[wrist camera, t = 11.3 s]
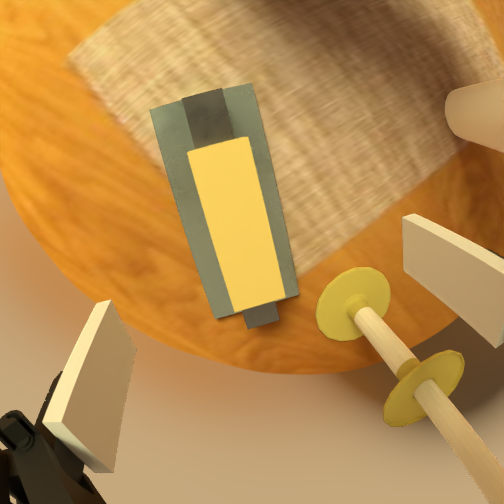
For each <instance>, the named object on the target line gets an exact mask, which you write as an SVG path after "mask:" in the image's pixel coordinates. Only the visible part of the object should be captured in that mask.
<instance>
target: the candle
mask: <svg viewBox="0 0 504 504" xmlns="http://www.w3.org/2000/svg"><path fill="white" fill-rule="evenodd" d="M390 299H391V294H390V284H389V282H388V281H387V279H386V278H385V276H384V275H383V273H381V272H379V271H378V270H376V269H374V268H372V267H355V268H352V269H350V270H347V271H345V272H343V273H340V274H339V275H338V276H337V277H336V278H335V279H333V280H332V281H331V282H330V283H329V284H328V285H327V286H326V287H325V289H324V291H323V292H322V294H321V296H320V297H319V299H318V302H317V307H316V312H315V317H316V321H317V325H318V328H319V329H320V330H321V331H322V332H323V333H324V334H325V336H326V337H327V338H331V339H334V340H337V341H348V340H355V339H357V338H359V337H361V336H363V335H365V336H366V338H367V339H368V340H369V342H370V343H371V344H372V345H373V347H374V348H375V349H376V351H377V352H378V353H379V354H380V356H381V357H382V358H383V360H384V361H385V362H386V363H387V365H388V366H389V367H390V369H391V370H392V371H393V373H394V374H395V375H396V377H397V378H398V379H399V381H400V382H399V383H398V384H397V385H396V387H395V388H394V389H393V390H392V391H391V393H390V394H389V396H388V398H387V400H386V402H385V405H384V407H383V420H384V422H386V423H387V424H388V425H389V426H391V427H403V426H406V425H409V424H412V423H415V422H417V421H419V420H420V419H422V418H424V417H425V416H427V415H428V416H429V417H430V419H431V420H432V422H433V423H434V424H435V426H436V427H437V428H438V430H439V431H440V433H441V434H442V435H443V437H444V438H445V440H446V441H447V442H448V444H449V445H450V447H451V448H452V449H453V451H454V452H455V454H456V455H457V457H458V458H459V459H460V461H461V462H462V464H463V465H464V466H465V468H466V469H467V471H468V472H469V474H470V475H471V477H472V478H473V480H474V481H475V483H476V484H477V486H478V487H479V489H480V490H481V492H482V493H483V495H484V496H485V498H486V499H487V501H488V502H489V504H504V469H503V467H502V466H501V465H500V463H499V462H498V461H497V459H496V458H495V457H494V455H493V454H492V453H491V452H490V450H489V449H488V448H487V446H486V445H485V444H484V442H483V441H482V440H481V439H480V437H479V436H478V435H477V433H476V432H475V431H474V430H473V428H472V427H471V426H470V425H469V423H468V422H467V421H466V420H465V418H464V417H463V416H462V415H461V413H460V412H459V411H458V410H457V409H456V407H455V406H454V405H453V404H452V403H451V401H450V400H449V399H448V396H449V395H450V394H451V393H452V392H453V390H454V389H455V387H456V386H457V384H458V382H459V380H460V378H461V376H462V374H463V369H464V364H465V362H464V359H463V357H462V354H461V353H458V352H455V351H452V350H447V351H443V352H439V353H436V354H434V355H433V356H431V357H429V358H428V359H426V360H424V361H422V362H420V361H419V360H418V359H417V358H416V357H415V356H414V354H413V353H412V352H411V351H410V350H409V349H408V348H407V347H406V345H405V344H404V343H403V342H402V341H401V340H400V339H399V338H398V337H397V335H396V334H395V333H394V332H393V331H392V330H391V329H390V328H389V327H388V326H387V324H386V323H385V322H384V321H383V320H382V318H383V316H384V315H385V313H386V312H387V309H388V306H389V302H390Z"/></svg>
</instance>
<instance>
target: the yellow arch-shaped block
mask: <svg viewBox="0 0 504 504" xmlns="http://www.w3.org/2000/svg"><path fill="white" fill-rule="evenodd" d="M187 155H188V158H189V162H190V165H191V169H192V173H193V176H194V180H195V183H196V187H197V190H198V194H199V197H200V201H201V204H202V207H203V211H204V214H205V218H206V221H207V224H208V228H209V231H210V234H211V238H212V241H213V244H214V248H215V251H216V254H217V258H218V261H219V264H220V267H221V270H222V274H223V277H224V280H225V283H226V286H227V290H228V293H229V296H230V299H231V302H232V305H233V308H234V311H235V312H237V311H241V310H244V309H248V308H251V307H255V306H258V305H262V304H265V303H268V302H272V301H275V300H278V299H282V298H285V297H286V296H285V292H284V287H283V283H282V278H281V274H280V269H279V265H278V260H277V256H276V252H275V247H274V243H273V238H272V234H271V230H270V225H269V221H268V217H267V213H266V208H265V204H264V200H263V196H262V192H261V187H260V183H259V179H258V175H257V171H256V167H255V163H254V159H253V154H252V150H251V146H250V142H249V138H248V137H240V138H236V139H232V140H228V141H224V142H221V143H217V144H213V145H209V146H206V147H202V148H199V149H195V150H192V151H189V152H187Z"/></svg>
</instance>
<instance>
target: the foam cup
mask: <svg viewBox="0 0 504 504" xmlns="http://www.w3.org/2000/svg"><path fill="white" fill-rule="evenodd" d="M445 116H446V120H447V123H448V126H449V127H450V129H451V130H452V132H453V133H454V134H455V135H456V136H458V137H460V138H462V139H465V140H468V141H471V142H474V143H477V144H480V145H483V146H486V147H489V148H492V149H495V150H497V151H500V152H503V153H504V78H499V79H494V80H490V81H486V82H481V83H477V84H473V85H469V86H465V87H461V88H458V89H456V90H452V91H451V92H450V93H449V94H448V95H447V98H446V101H445Z"/></svg>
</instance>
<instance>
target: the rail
mask: <svg viewBox="0 0 504 504" xmlns="http://www.w3.org/2000/svg"><path fill="white" fill-rule="evenodd" d="M150 114H151V117H152V121H153V125H154V129H155V132H156V136H157V140H158V143H159V147H160V151H161V154H162V158H163V161H164V165H165V168H166V172H167V175H168V179H169V182H170V185H171V189H172V192H173V195H174V199H175V202H176V205H177V208H178V212H179V215H180V218H181V221H182V224H183V227H184V230H185V234H186V237H187V240H188V243H189V246H190V249H191V252H192V255H193V258H194V261H195V264H196V267H197V270H198V273H199V276H200V278H201V281H202V284H203V287H204V290H205V293H206V296H207V298H208V301H209V304H210V307H211V310H212V312H213V315H214V318H215V319H217V318H221V317H224V316H228V315H231V314H235V313H238V312H242V313H243V316H244V319H245V322H246V325H247V329H251V328H254V327H258V326H261V325H264V324H268V323H271V322H274V321H278V320H280V319H279V315H278V311H277V307H276V301H279V300H283V299H286V298H289V297H293V296H296V295H299V290H298V285H297V280H296V275H295V270H294V265H293V260H292V255H291V250H290V245H289V240H288V236H287V231H286V226H285V221H284V217H283V212H282V208H281V203H280V198H279V194H278V190H277V185H276V181H275V176H274V172H273V168H272V163H271V159H270V155H269V151H268V146H267V142H266V138H265V134H264V130H263V126H262V122H261V118H260V114H259V110H258V106H257V102H256V98H255V94H254V90H253V86H252V83H249V84H245V85H240V86H235V87H231V88H226V89H222V88H220V89H216V90H212V91H208V92H204V93H200V94H196V95H193V96H189V97H186V98H182V100H180V101H177V102H173V103H170V104H167V105H164V106H160V107H157V108H154V109H151V110H150ZM240 137H248V138H249V142H250V146H251V150H252V154H253V159H254V163H255V167H256V171H257V175H258V179H259V183H260V187H261V192H262V196H263V200H264V204H265V208H266V213H267V217H268V221H269V225H270V230H271V234H272V238H273V243H274V247H275V252H276V256H277V260H278V265H279V269H280V274H281V278H282V283H283V287H284V292H285V296H286V297H285V298H282V299H278V300H275V301H272V302H268V303H265V304H262V305H258V306H255V307H251V308H248V309H244V310H241V311H237V312H235V311H234V308H233V305H232V302H231V299H230V296H229V293H228V290H227V286H226V283H225V280H224V277H223V274H222V270H221V267H220V264H219V261H218V258H217V254H216V251H215V248H214V244H213V241H212V238H211V234H210V231H209V228H208V224H207V221H206V218H205V214H204V211H203V207H202V204H201V201H200V197H199V194H198V190H197V187H196V183H195V180H194V176H193V173H192V169H191V165H190V162H189V158H188V155H187V152H189V151H192V150H195V149H199V148H202V147H206V146H209V145H213V144H217V143H221V142H224V141H228V140H232V139H236V138H240Z"/></svg>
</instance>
